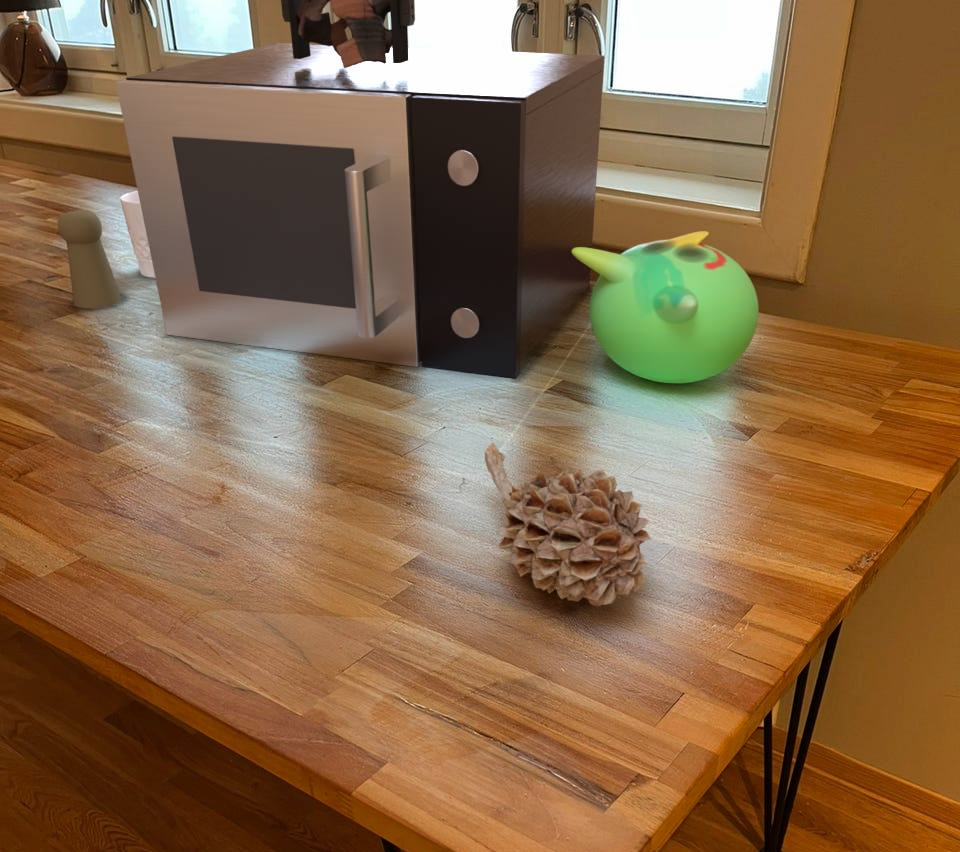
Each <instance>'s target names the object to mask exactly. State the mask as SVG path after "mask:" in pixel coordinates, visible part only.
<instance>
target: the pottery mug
mask: <svg viewBox="0 0 960 852" xmlns="http://www.w3.org/2000/svg"><path fill="white" fill-rule="evenodd" d="M329 2H330V6H331V11H332V13H333V14H334V15H335V16H336V17H337V18H338V20H337V21H334V22H333V23H332V22H331V15H330V12H323V11H324V9H325V7H326V6H327V5H328V3H329ZM389 13H390V0H303V1H302V2H301V3H300V5H299V6H298V8H297V15H298V17H299V19H300V24H299V30H298V32H299V35H300V36H301V37H302V38H304V40H305V41H306V42H309V43H313V44H317V45H325V46H333V48H334V51H335V52H336V53H337V54H338V55H339V56H340V57H341V61H342V64H343V67H344V68H348V67H351V66H354V65H357V64H359V63H363V62H369V61H370V62H380V63H383V64H386V63H387V62H386V53H387V54H389V53H390V49H391V48H392V34H391V29H388V28H387V27H386V26H385V21H386V18H387V15H388V14H389ZM347 28H348V29H349V31H350V33H351V37H350V38H348V36H347V33H346V29H347Z"/></svg>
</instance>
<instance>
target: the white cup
mask: <svg viewBox="0 0 960 852" xmlns="http://www.w3.org/2000/svg"><path fill="white" fill-rule="evenodd" d="M119 201H120V205H121V208H122V212H123V216H124V220H125V225H126V228H127V232H128V234H129V238H130V242H131V245H132V249H133V253H134V256H135V257H136V261H137V265H138V268H139V269H138V270H139V272H140V274H141V276H144V277H147V278H153V279H154V278H155V273H154V268H153V263H152V258H151V253H150V249H149V244H148V239H147V234H146V229H145V224H144V219H143V214H142V209H141V204H140V200H139V195H138V190H134V191H130V192H127V193H124V194H123V195H121V196H120V197H119ZM155 279H156V278H155Z"/></svg>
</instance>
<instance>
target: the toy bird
mask: <svg viewBox="0 0 960 852" xmlns="http://www.w3.org/2000/svg"><path fill="white" fill-rule="evenodd" d="M708 236H709V232H708V231H705V230H701V231H695V232H691V233H686V234H683V235H680V236H677V237H673V238H670V239H660V240H659V239H658V240H653V241H649V242H645V243H641V244H637V245H635V246H632V247H630V248H629V249H627V250H624V251H623V252H621V253H616V252H610V251H607V250H602V249H598V248H597V249H596V248H593V247H592V248H586V247H576V248H573V249H572V254H573V255H574V256H575V257H576V258H577V259H578V260H580V261H581V262H582V263H584V264H585V265H587V266H588V267H590V268H591V269H592V270H593V271H595V272H596V273H597V274H599V276H598V278H597V280H596V282H595V284H594V286H593V290H592V293H591V296H590V301H589V321H590V325H591V330H592V331H593V335H594V337H595V339H596V341H597V344H598V345H599V346H600V348H601V349H602V351H603V352H604V353H605V354H606V355H607V356H608V357H609V358H610V359H611V360H612V362H614V363H615V364H617V365H618V366H619V367H621V368H622V369H624V370H625V371H627V372H629V373H631V374H633V375H634V376H637V377H638V378H642V379H645V380H648V381H652V382H656V383H663V384H689V383H696V382H700V381H703V380H706V379H710V378H712V377H715V376H717V375H719V374H722V373H723V372H724V371H726V370H727V369H729V368H730V367H731V366H734V364H735V363H736V362H737V361H738V360H739V359H741V357H742V356H743V355H744V353H745V352H746V351H747V349H748V347H749V346H750V345H751V342H752V341H753V338H754V336H755V333H756V330H757V327H758V323H759V315H760V314H759V313H760V311H759V310H760V308H759V300H758V294H757V292H756V289H755V285H754V284H753V282H752V280H751V278H750V277H749V275H748V273H747V272H746V271H745V270H744V268H743V267H742V266H741V265H740V264H739V262H737V261H736V260H735V259H734V258H732V257H730V256H729V255H728V254H726V253H724V252H723V251H721V250H720V249H717V248H715V247H713V246H710V245H708V244H704V243H702V241H703V240H705V239H706V238H707V237H708Z"/></svg>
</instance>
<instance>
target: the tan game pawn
mask: <svg viewBox="0 0 960 852" xmlns="http://www.w3.org/2000/svg"><path fill="white" fill-rule="evenodd" d="M57 229H58V233H59V235H60V237H61V238H62V239H63V240H64V241H65V242H66V251H67V257H68V266H69V275H70V283H71V290H72V299H73V305H74V306H76V307H78V308H82V309H83V308H84V309H97V308H98V309H99V308H104V307H110V306H112V305H116V304H118V303H120V302H121V301H122V295H121V292H120V289H119V287H118V283H117V281H116V279H115V275H114V273H113V271H112V267H111V265H110V262H109V259H108V257H107V254H106V251H105V248H104V245H103V243H102V240H101V237H102V235H103V226H102V222H101V219H100V217H99V216H98V215H97V214H96V213H95V212H92V211H89V210H71V211H67V212H64V213H62V214H61V215H60V216H59V217H58V220H57Z"/></svg>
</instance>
